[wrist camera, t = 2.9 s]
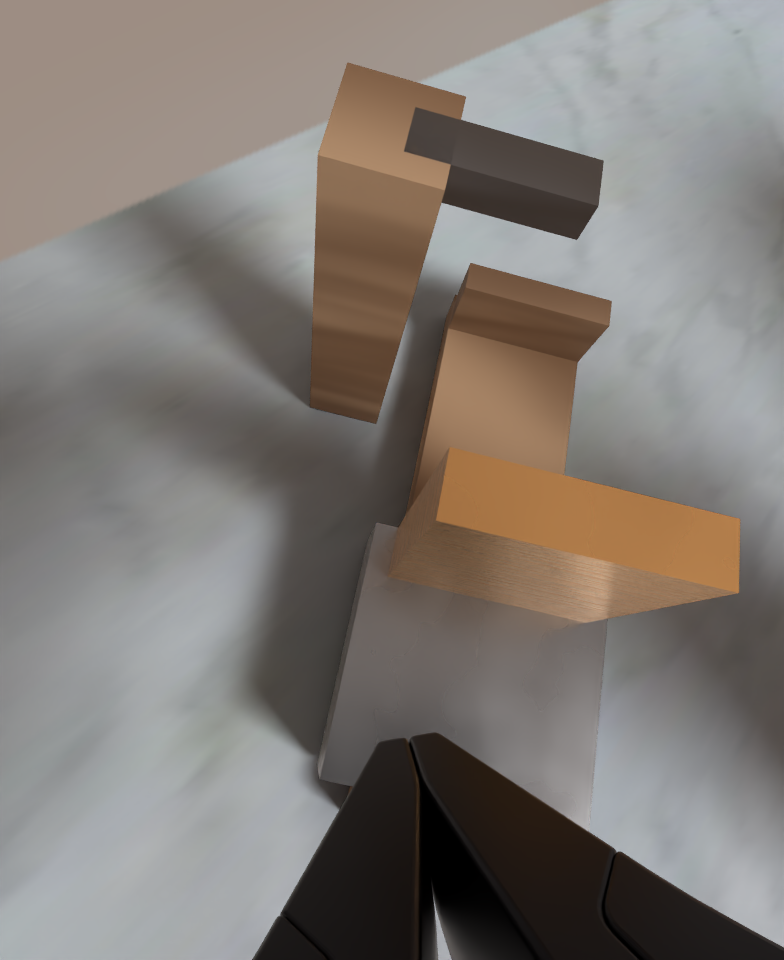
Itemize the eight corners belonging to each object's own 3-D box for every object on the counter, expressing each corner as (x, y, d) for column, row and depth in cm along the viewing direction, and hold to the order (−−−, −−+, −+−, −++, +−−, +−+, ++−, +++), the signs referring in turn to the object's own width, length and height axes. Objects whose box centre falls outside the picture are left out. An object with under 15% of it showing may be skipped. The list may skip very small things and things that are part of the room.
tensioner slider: (547, 812, 19) (770, 935, 10) (317, 764, 19) (331, 847, 9) (571, 590, 21) (770, 526, 12) (366, 542, 21) (417, 438, 12)
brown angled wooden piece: (501, 846, 19) (771, 1072, 8) (205, 785, 18) (65, 942, 7) (565, 348, 25) (770, 92, 14) (342, 289, 24) (375, -27, 13)
